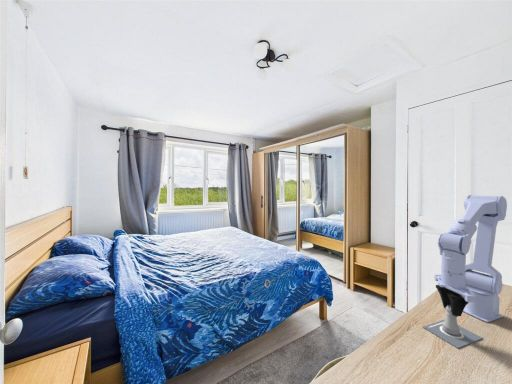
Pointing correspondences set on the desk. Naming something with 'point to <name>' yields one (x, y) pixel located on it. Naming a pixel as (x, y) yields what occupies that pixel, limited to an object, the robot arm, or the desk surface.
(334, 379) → the desk surface
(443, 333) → the grey base plate
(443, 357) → the desk surface
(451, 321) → the rook chess piece
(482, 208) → the robot arm
